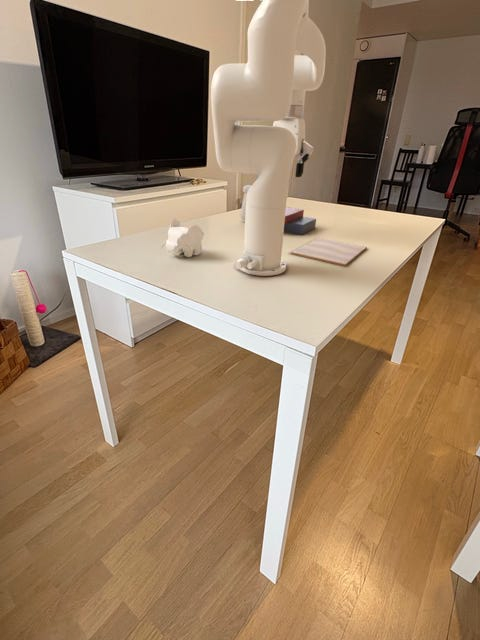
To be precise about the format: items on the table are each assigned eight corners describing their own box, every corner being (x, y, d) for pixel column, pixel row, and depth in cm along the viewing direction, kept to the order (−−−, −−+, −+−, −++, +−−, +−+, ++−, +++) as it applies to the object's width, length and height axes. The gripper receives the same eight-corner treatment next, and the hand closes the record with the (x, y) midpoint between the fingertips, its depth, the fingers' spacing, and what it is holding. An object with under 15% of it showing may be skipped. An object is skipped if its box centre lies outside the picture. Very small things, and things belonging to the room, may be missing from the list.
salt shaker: (253, 224, 129) (255, 187, 122) (238, 222, 129) (239, 186, 123) (255, 220, 134) (257, 185, 127) (241, 219, 134) (242, 184, 128)
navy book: (301, 235, 117) (302, 224, 115) (258, 226, 125) (259, 217, 123) (315, 228, 126) (316, 218, 124) (274, 221, 134) (275, 212, 132)
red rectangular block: (280, 225, 113) (281, 217, 112) (263, 222, 116) (263, 214, 115) (303, 216, 127) (303, 209, 125) (287, 214, 130) (288, 207, 128)
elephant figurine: (155, 255, 94) (152, 222, 89) (189, 246, 101) (188, 215, 97) (177, 264, 88) (175, 229, 84) (211, 254, 96) (211, 222, 91)
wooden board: (345, 266, 91) (345, 264, 91) (290, 254, 98) (291, 252, 98) (366, 248, 106) (366, 246, 105) (317, 239, 113) (318, 237, 113)
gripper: (259, 112, 103) (255, 173, 111) (312, 113, 95) (304, 179, 103) (271, 113, 108) (267, 172, 117) (322, 114, 100) (314, 177, 108)
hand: (284, 175), depth 110 cm, fingers open, 9 cm apart
